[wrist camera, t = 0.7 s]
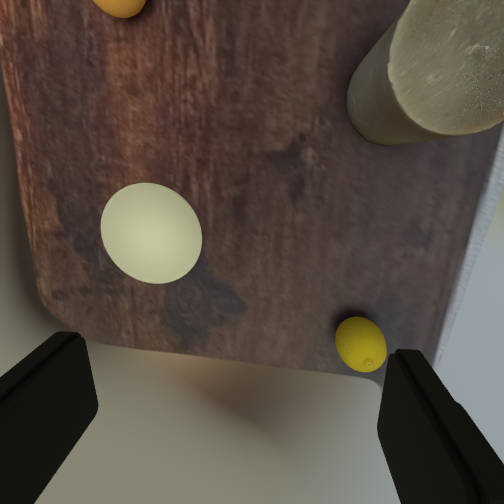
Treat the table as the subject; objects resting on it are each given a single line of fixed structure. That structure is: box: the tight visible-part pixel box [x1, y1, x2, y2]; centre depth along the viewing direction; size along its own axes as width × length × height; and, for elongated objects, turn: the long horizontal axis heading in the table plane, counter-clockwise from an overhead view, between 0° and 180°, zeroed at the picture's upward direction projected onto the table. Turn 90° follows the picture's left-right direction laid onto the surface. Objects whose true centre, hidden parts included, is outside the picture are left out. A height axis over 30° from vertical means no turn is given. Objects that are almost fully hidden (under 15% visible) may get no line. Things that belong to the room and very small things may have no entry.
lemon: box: [335, 317, 387, 372], centre depth 36 cm, size 6×6×8 cm
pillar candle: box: [346, 0, 504, 146], centre depth 24 cm, size 10×10×15 cm
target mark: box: [101, 183, 202, 283], centre depth 38 cm, size 13×13×1 cm
